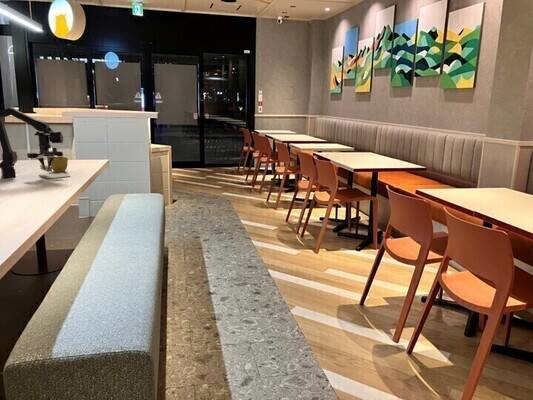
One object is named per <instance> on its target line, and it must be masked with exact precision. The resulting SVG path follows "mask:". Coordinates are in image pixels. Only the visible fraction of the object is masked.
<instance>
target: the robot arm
mask: <svg viewBox="0 0 533 400" xmlns="http://www.w3.org/2000/svg"><path fill="white" fill-rule="evenodd" d="M9 116H12V117H14V118H16V119H18V120H20V121H23V122H24V123H26V124H29V125H30V126H32V127H33V129H35V130H36V131H35V132H36V133H34V136H38V137H37V138H38V147H39V152H38V153H37V152H27V158H28V159H37V160H38V162H39V163H40V165H42V167H43V168H44V169H45V165H46V164H45V157H46V158H47V159H46V161H47V166H49V167H51V162H52V160H53V159H54V158H55V157H64V153H63V151H61V150H58V149H57V147H52V145H51V144H50V142H51V143H52V144H63V143H64V135H63V134H62V131H54V130H53V129H52V128H51V127H50V125H49V122H47V121H44V120H40V119H37V118H34V117H32V116H30V115H28V114H26V113H24V112H22V111H19V110H18V109H16V108H15V107H9V108H6V109H2V110H0V145H1V149H2V154H1V158H2V159H1V160H2V161H1V162H0V173H1V176H0V177H1V178H2V179H11V178H16V177H17V176H16V175H17V174H16V169H15V167H14V166H15V164H16V163H17V161H18V159H19V156H18V154H17V151H14V150H13V149H12V147H11V142H10V140H9V136H8V132H7V130H6V127H5V123H6V118H7V117H9Z"/></svg>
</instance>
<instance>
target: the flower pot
mask: <svg viewBox="0 0 533 400" xmlns="http://www.w3.org/2000/svg"><path fill="white" fill-rule="evenodd" d="M68 159H69V158H68V157H66V156H55V158H54V159H53V160H52V162H51V166H50V167H52V172H55V173H62V172H66V170H67V168H68V162H69V161H68Z"/></svg>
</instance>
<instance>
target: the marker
mask: <svg viewBox="0 0 533 400" xmlns="http://www.w3.org/2000/svg"><path fill="white" fill-rule="evenodd" d="M39 167H40V168H39V169H40V170H42V171H44V172H47V173H48V172H49V173H50V172H53V169H52V167H51V166H50V167H49V166H48V165H46V164H45V169H44V168H43V167H42V165H41V164H40V165H39Z"/></svg>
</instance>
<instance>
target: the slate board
mask: <svg viewBox="0 0 533 400" xmlns="http://www.w3.org/2000/svg"><path fill="white" fill-rule="evenodd" d="M38 176H39V177H41V178H43V179H47V180H53V179H54V178H55V179H62V178H70V177H71V175H69V174H65V173H62V172H54V173H44V174H39V175H38Z"/></svg>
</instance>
